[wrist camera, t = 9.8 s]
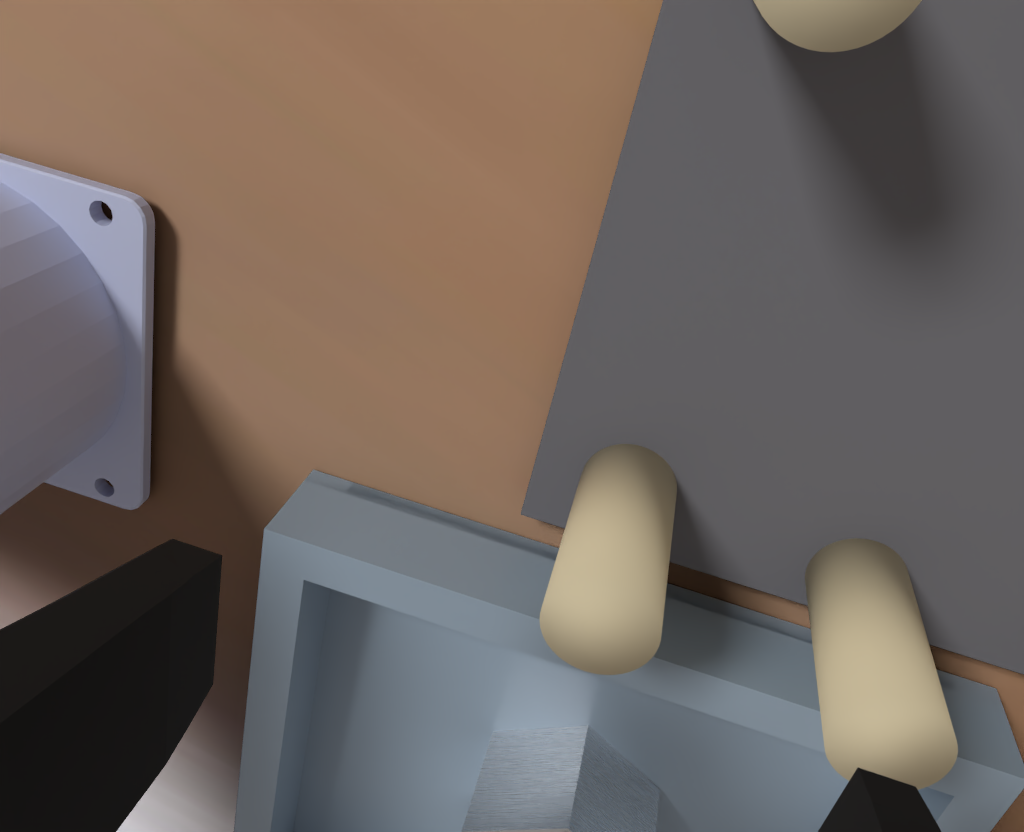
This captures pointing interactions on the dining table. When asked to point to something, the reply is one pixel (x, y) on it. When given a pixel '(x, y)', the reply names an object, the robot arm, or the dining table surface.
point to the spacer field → (807, 355)
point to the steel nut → (560, 785)
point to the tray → (530, 687)
